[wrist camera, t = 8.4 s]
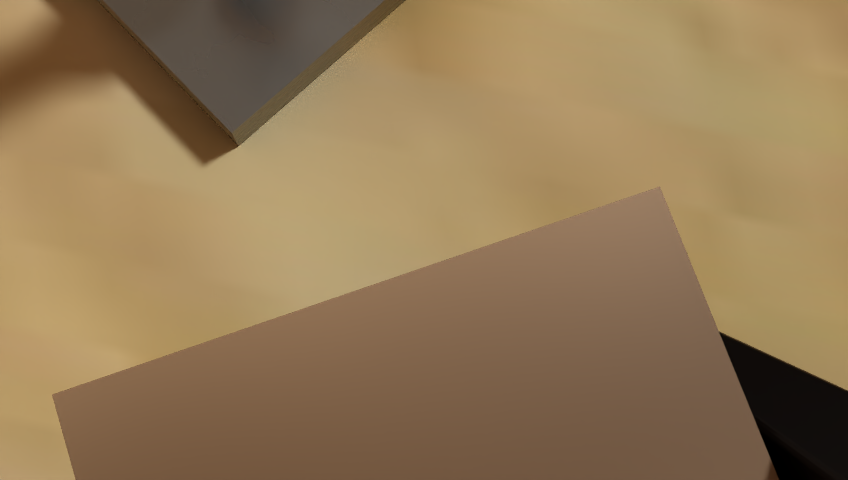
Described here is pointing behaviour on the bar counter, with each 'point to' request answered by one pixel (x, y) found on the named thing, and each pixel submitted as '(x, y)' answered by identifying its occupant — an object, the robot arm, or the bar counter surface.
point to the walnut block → (452, 376)
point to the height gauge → (247, 48)
